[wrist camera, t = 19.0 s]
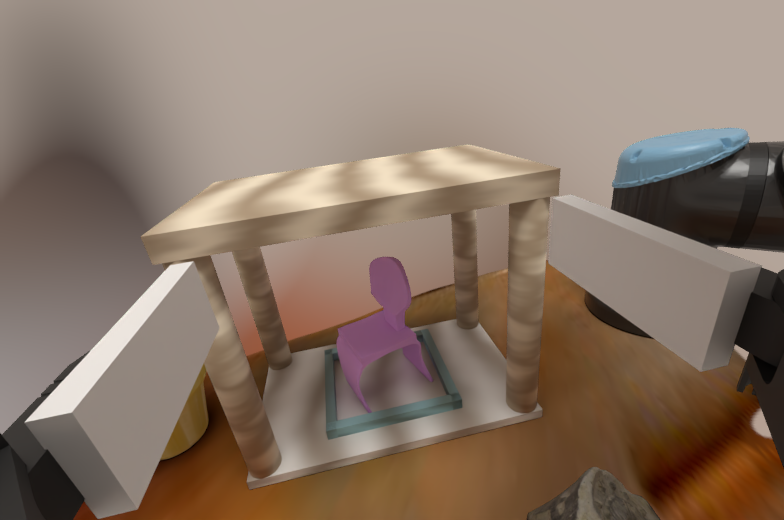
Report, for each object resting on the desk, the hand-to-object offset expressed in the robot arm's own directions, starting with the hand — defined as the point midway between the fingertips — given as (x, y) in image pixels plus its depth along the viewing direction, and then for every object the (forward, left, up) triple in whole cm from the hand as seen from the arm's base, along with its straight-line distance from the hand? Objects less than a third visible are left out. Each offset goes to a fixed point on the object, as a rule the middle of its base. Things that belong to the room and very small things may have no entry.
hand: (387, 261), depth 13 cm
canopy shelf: (0, -21, -26) cm, 33 cm away
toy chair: (-1, -21, -25) cm, 32 cm away
